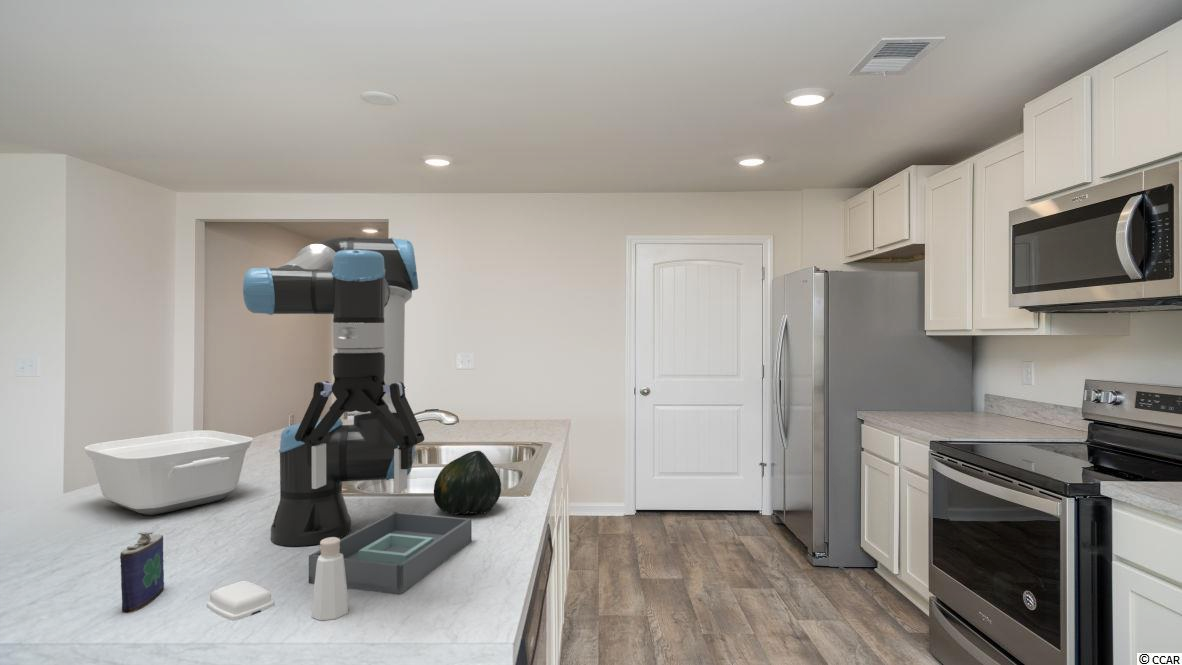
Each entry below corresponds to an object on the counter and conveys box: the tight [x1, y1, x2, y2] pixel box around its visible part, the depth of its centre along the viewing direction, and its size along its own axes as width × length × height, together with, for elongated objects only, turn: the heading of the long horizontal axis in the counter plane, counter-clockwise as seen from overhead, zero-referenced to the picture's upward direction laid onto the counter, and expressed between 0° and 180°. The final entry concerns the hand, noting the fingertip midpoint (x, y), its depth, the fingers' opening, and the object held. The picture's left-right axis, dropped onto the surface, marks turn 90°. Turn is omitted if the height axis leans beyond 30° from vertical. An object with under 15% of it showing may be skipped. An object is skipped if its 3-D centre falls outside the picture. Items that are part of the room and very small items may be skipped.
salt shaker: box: [310, 537, 350, 622], centre depth 94 cm, size 5×5×11 cm
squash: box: [433, 450, 502, 515], centre depth 144 cm, size 14×15×15 cm
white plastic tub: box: [83, 429, 254, 516], centre depth 151 cm, size 34×29×15 cm
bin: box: [308, 511, 473, 595], centre depth 115 cm, size 17×25×4 cm
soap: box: [206, 580, 275, 622], centre depth 96 cm, size 9×7×3 cm
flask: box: [119, 531, 165, 614], centre depth 98 cm, size 9×3×11 cm, turn 8°
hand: (359, 488), depth 97 cm, fingers open, 13 cm apart
